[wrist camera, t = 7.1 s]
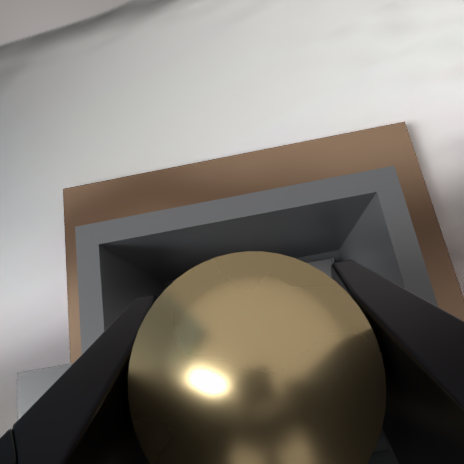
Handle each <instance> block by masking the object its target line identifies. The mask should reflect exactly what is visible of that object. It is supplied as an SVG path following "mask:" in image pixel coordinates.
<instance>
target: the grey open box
mask: <svg viewBox="0 0 464 464" xmlns="http://www.w3.org/2000/svg"><path fill="white" fill-rule="evenodd" d="M75 236H76V255H77V275H78V295H79V315H80V335H81V355H82V354H83V353H84V352H85V351H86V350H87V349H88V348H89V347H90V346H91V345H92V344H93V342H94V341H95V340H96V339H97V338H98V337H99V336H100V335H101V334H102V333H103V332H104V331H105V330H106V329H107V328H108V327H109V326H110V325H111V324H112V323H113V322H114V321H115V320H116V319H117V318H118V317H119V316H120V315H121V314H122V313H123V312H124V311H125V310H126V308H127V307H128V306H129V305H130V304H131V303H132V302H133V301H134V300H135V299H137V298H139V297H145V296H151V295H155V296H157V297H159V296H160V295H161V294H162V293H163V291H164V290H165V289H166V288H167V287H168V286H169V285H171V284H172V283H173V282H174V281H175V280H176V279H177V278H179V277H180V276H181V275H183V274H184V273H185V272H187V271H188V270H190V269H192V268H193V267H195V266H197V265H199V264H201V263H203V262H205V261H208V260H210V259H213V258H215V257H218V256H222V255H226V254H230V253H237V252H245V251H263V252H271V253H278V254H282V255H285V256H289V257H293V258H296V259H298V260H300V261H303V262H305V263H309V262H315V261H320V260H326V259H331V258H334V262H339V261H344V260H353V261H355V262H357V263H359V264H361V265H363V266H365V267H366V268H368V269H370V270H372V271H374V272H375V273H377V274H379V275H381V276H383V277H385V278H386V279H388V280H390V281H392V282H394V283H395V284H397V285H399V286H401V287H403V288H405V289H406V290H408V291H410V292H412V293H414V294H415V295H417V296H419V297H421V298H423V299H425V300H426V301H428V302H430V303H432V304H434V305H435V306H437V307H438V304H437V301H436V297H435V294H434V291H433V288H432V285H431V281H430V278H429V275H428V272H427V269H426V265H425V262H424V259H423V256H422V253H421V249H420V246H419V243H418V240H417V237H416V233H415V230H414V227H413V224H412V221H411V217H410V214H409V211H408V208H407V205H406V201H405V198H404V195H403V192H402V189H401V185H400V182H399V179H398V176H397V173H396V169H395V166H389V167H384V168H379V169H374V170H369V171H363V172H358V173H353V174H348V175H342V176H337V177H332V178H327V179H322V180H316V181H311V182H306V183H301V184H296V185H290V186H285V187H280V188H275V189H269V190H264V191H259V192H254V193H249V194H243V195H238V196H233V197H228V198H222V199H217V200H212V201H207V202H202V203H196V204H191V205H186V206H181V207H175V208H170V209H165V210H160V211H155V212H149V213H144V214H139V215H134V216H128V217H123V218H118V219H113V220H108V221H102V222H97V223H92V224H87V225H82V226H76V227H75ZM72 364H73V363H71V364H65V365H59V366H54V367H48V368H42V369H36V370H31V371H25V372H19V373H17V421H18V420H19V419H20V418H21V417H22V416H23V415H24V414H25V413H26V411H27V410H28V409H29V408H30V407H31V406H32V405H33V404H34V403H35V402H36V401H37V400H38V399H39V398H40V397H41V396H42V395H43V394H44V393H45V392H46V391H47V390H48V389H49V388H50V387H51V386H52V385H53V384H54V383H55V382H56V381H57V380H58V379H59V378H60V376H61V375H62V374H63V373H64V372H65V371H66V370H67V369H68V368H69V367H70V366H71V365H72ZM378 442H379V443H377V445H376V447H375V449H374V451H373V453H372V455H371V457H370V459H369V462H368V464H399V463H398V461H397V459H396V457H395V454H394V452H393V450H392V448H391V446H390V444H389V441H388V439H387V437H386V435H385V433H384V431H383V428H382V430H381V433H380V436H379V439H378Z"/></svg>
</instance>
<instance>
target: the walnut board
mask: <svg viewBox="0 0 464 464" xmlns="http://www.w3.org/2000/svg"><path fill="white" fill-rule="evenodd" d="M389 166H395V169H396V173H397V176H398V179H399V182H400V185H401V189H402V192H403V195H404V198H405V201H406V205H407V208H408V211H409V214H410V217H411V221H412V224H413V227H414V230H415V233H416V237H417V240H418V243H419V246H420V249H421V253H422V256H423V259H424V262H425V265H426V269H427V272H428V275H429V278H430V281H431V285H432V288H433V291H434V294H435V297H436V301H437V304H438V307H439V308H441V309H443V310H445V311H446V312H448V313H450V314H452V315H454V316H455V317H457V318H459V319H461V320H463V321H464V298H463V295H462V292H461V289H460V286H459V283H458V280H457V277H456V274H455V271H454V268H453V265H452V262H451V259H450V256H449V253H448V250H447V247H446V244H445V241H444V238H443V235H442V232H441V229H440V226H439V223H438V220H437V217H436V214H435V211H434V208H433V205H432V202H431V199H430V196H429V193H428V190H427V187H426V184H425V181H424V178H423V175H422V172H421V169H420V166H419V163H418V160H417V157H416V154H415V151H414V148H413V145H412V142H411V139H410V136H409V133H408V130H407V127H406V124H405V122H401V123H396V124H391V125H386V126H381V127H376V128H371V129H366V130H361V131H355V132H350V133H345V134H340V135H335V136H330V137H325V138H320V139H315V140H310V141H305V142H300V143H294V144H289V145H284V146H279V147H274V148H269V149H264V150H259V151H254V152H249V153H244V154H239V155H233V156H228V157H223V158H218V159H213V160H208V161H203V162H198V163H193V164H188V165H183V166H178V167H173V168H167V169H162V170H157V171H152V172H147V173H142V174H137V175H132V176H127V177H122V178H117V179H112V180H106V181H101V182H96V183H91V184H86V185H81V186H76V187H71V188H66V189H63V198H64V222H65V245H66V269H67V293H68V316H69V340H70V363H74V362H75V361H76V360H77V359H78V358H79V357H80V356H81V335H80V315H79V295H78V275H77V255H76V236H75V227H76V226H82V225H87V224H92V223H97V222H102V221H108V220H113V219H118V218H123V217H128V216H134V215H139V214H144V213H149V212H155V211H160V210H165V209H170V208H175V207H181V206H186V205H191V204H196V203H202V202H207V201H212V200H217V199H222V198H228V197H233V196H238V195H243V194H249V193H254V192H259V191H264V190H269V189H275V188H280V187H285V186H290V185H296V184H301V183H306V182H311V181H316V180H322V179H327V178H332V177H337V176H342V175H348V174H353V173H358V172H363V171H369V170H374V169H379V168H384V167H389Z"/></svg>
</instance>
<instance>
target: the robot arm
mask: <svg viewBox="0 0 464 464" xmlns="http://www.w3.org/2000/svg"><path fill="white" fill-rule="evenodd" d="M331 276H332V279H333V280H334V281H336V282H337V283H338V284H339V285H340V286H341V287H342V288H343V289H344V290H345V291H346V292H347V293H348V294H349V295H350V296H351V297H352V299H353V300H354V301H355V302H356V304H357V305H358V306H359V307H360V309H361V311H362V312H363V314H364V315H365V317H366V319H367V320H368V322H369V324H370V326H371V328H372V330H373V332H374V334H375V337H376V339H377V342H378V345H379V348H380V351H381V354H382V359H383V364H384V369H385V377H386V408H385V415H384V420H383V425H382V428H383V431H384V433H385V435H386V437H387V439H388V441H389V444H390V446H391V448H392V450H393V452H394V454H395V457H396V459H397V461H398V463H399V464H464V321H463V320H461V319H459V318H457V317H455V316H454V315H452V314H450V313H448V312H446V311H445V310H443V309H441V308H439V307H437V306H435V305H434V304H432V303H430V302H428V301H426V300H425V299H423V298H421V297H419V296H417V295H415V294H414V293H412V292H410V291H408V290H406V289H405V288H403V287H401V286H399V285H397V284H395V283H394V282H392V281H390V280H388V279H386V278H385V277H383V276H381V275H379V274H377V273H375V272H374V271H372V270H370V269H368V268H366V267H365V266H363V265H361V264H359V263H357V262H355V261H353V260H344V261H339V262H334V263H332V265H331ZM157 299H158V297H157V296H155V295H151V296H145V297H139V298H137V299H135V300H134V301H133V302H132V303H131V304H130V305H129V306H128V307H127V308H126V310H125V311H124V312H123V313H122V314H121V315H120V316H119V317H118V318H117V319H116V320H115V321H114V322H113V323H112V324H111V325H110V326H109V327H108V328H107V329H106V330H105V331H104V332H103V333H102V334H101V335H100V336H99V337H98V338H97V339H96V340H95V341H94V342H93V344H92V345H91V346H90V347H89V348H88V349H87V350H86V351H85V352H84V353H83V354H82V355H81V356H80V357H79V358H78V359H77V360H76V361H75V362H74V363H73V364H72V365H71V366H70V367H69V368H68V369H67V370H66V371H65V372H64V373H63V374H62V375H61V376H60V378H59V379H58V380H57V381H56V382H55V383H54V384H53V385H52V386H51V387H50V388H49V389H48V390H47V391H46V392H45V393H44V394H43V395H42V396H41V397H40V398H39V399H38V400H37V401H36V402H35V403H34V404H33V405H32V406H31V407H30V408H29V409H28V410H27V411H26V413H25V414H24V415H23V416H22V417H21V418H20V419H19V420H18V421H17V422H16V423H15V424H14V425H13V429H9V430H8V431H7V432H6V433H5V434H4V435H3V436H2V437H1V438H0V464H150V463H149V461H148V459H147V458H146V456H145V454H144V452H143V450H142V448H141V446H140V443H139V441H138V438H137V436H136V434H135V430H134V427H133V423H132V419H131V415H130V409H129V402H128V371H129V362H130V357H131V353H132V348H133V345H134V342H135V339H136V336H137V333H138V330H139V328H140V326H141V324H142V322H143V320H144V318H145V316H146V314H147V313H148V311H149V310H150V308H151V307H152V305H153V304H154V302H155V301H156V300H157Z"/></svg>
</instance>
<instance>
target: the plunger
mask: <svg viewBox="0 0 464 464" xmlns="http://www.w3.org/2000/svg"><path fill="white" fill-rule="evenodd" d="M332 263H334V258H331V259H326V260H320V261H315V262H309V263H305V262H303V261H300V260H298V259H296V258H293V257H289V256H285V255H282V254H278V253H271V252H263V251H245V252H237V253H230V254H226V255H222V256H218V257H215V258H213V259H210V260H208V261H205V262H203V263H201V264H199V265H197V266H195V267H193V268H192V269H190V270H188V271H187V272H185V273H184V274H183V275H181V276H180V277H179V278H177V279H176V280H175V281H174V282H173V283H172V284H171V285H169V286H168V287H167V288H166V289H165V290H164V291H163V293H162V294H161V295H160V296H159V297H158V299H157V300H156V301H155V302H154V304H153V305H152V307H151V308H150V310H149V311H148V313H147V314H146V316H145V318H144V320H143V322H142V324H141V326H140V328H139V330H138V333H137V336H136V339H135V342H134V345H133V348H132V353H131V357H130V362H129V371H128V402H129V409H130V415H131V419H132V423H133V427H134V430H135V434H136V436H137V438H138V441H139V443H140V446H141V448H142V450H143V452H144V454H145V456H146V458H147V459H148V461H149V463H150V464H368V462H369V459H370V457H371V455H372V453H373V451H374V449H375V447H376V445H377V443H379V442H378V439H379V436H380V433H381V430H382V425H383V420H384V415H385V408H386V377H385V369H384V364H383V359H382V354H381V351H380V348H379V345H378V342H377V339H376V337H375V334H374V332H373V330H372V328H371V326H370V324H369V322H368V320H367V319H366V317H365V315H364V314H363V312H362V311H361V309H360V307H359V306H358V305H357V304H356V302H355V301H354V300H353V299H352V297H351V296H350V295H349V294H348V293H347V292H346V291H345V290H344V289H343V288H342V287H341V286H340V285H339V284H338V283H337V282H336V281H334V280H333V279H332V276H331V265H332Z"/></svg>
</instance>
